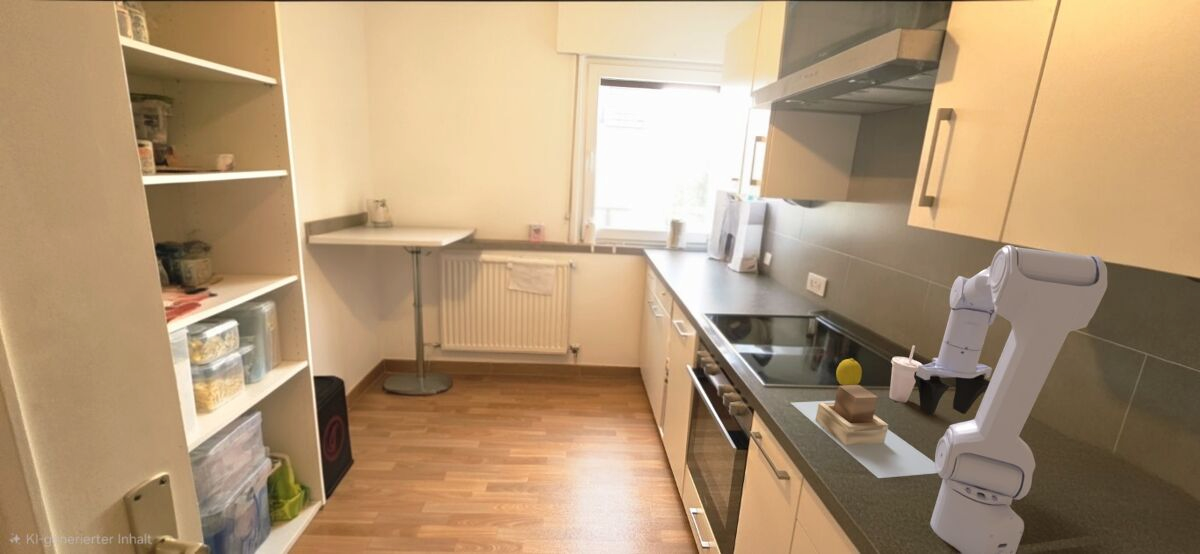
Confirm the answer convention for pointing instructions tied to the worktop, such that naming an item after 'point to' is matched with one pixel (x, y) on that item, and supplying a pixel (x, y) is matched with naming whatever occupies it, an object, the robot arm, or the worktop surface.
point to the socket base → (851, 427)
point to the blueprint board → (879, 451)
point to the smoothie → (903, 377)
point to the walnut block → (855, 404)
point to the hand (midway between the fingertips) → (942, 412)
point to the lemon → (849, 372)
